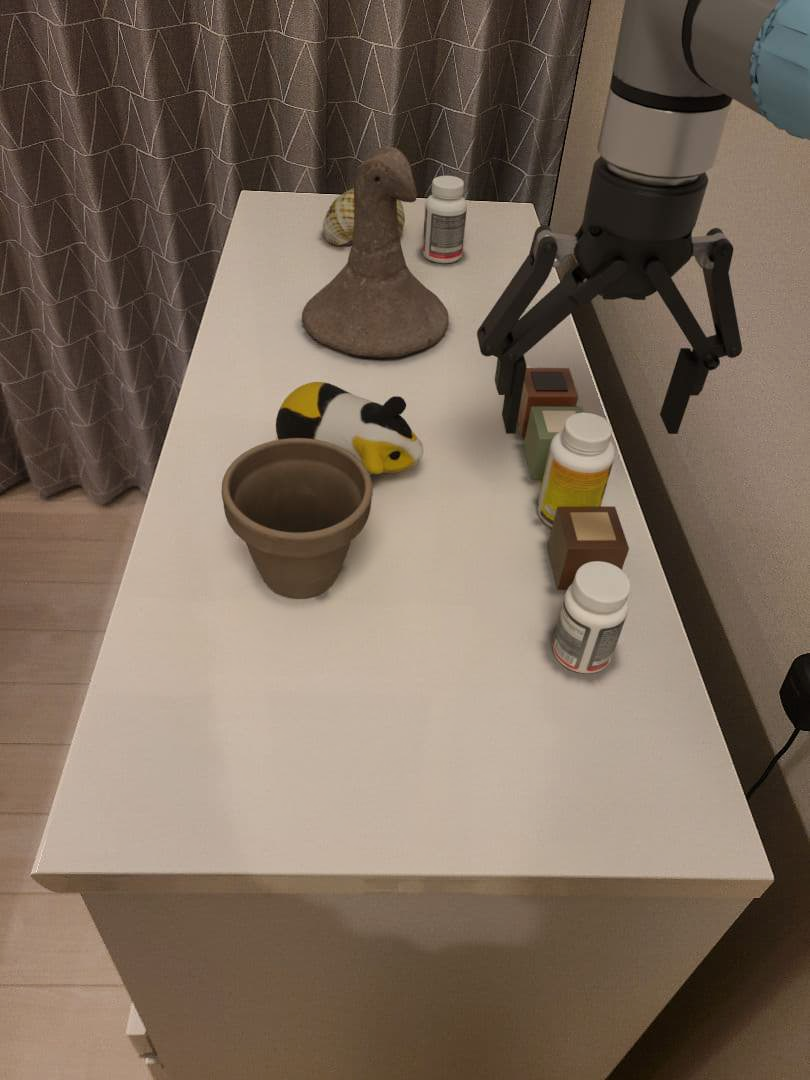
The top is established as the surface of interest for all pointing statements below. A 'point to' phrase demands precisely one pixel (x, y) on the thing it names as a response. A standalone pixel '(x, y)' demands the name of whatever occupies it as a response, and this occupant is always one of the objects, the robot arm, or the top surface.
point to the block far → (544, 434)
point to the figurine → (351, 426)
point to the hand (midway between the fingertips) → (588, 424)
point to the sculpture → (377, 275)
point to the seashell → (347, 219)
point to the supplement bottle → (577, 465)
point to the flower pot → (297, 510)
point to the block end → (545, 392)
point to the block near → (585, 540)
